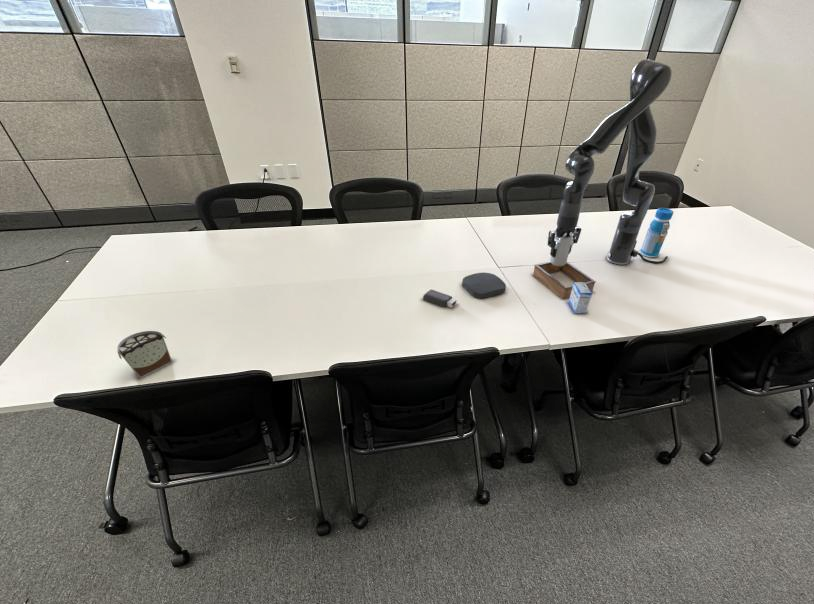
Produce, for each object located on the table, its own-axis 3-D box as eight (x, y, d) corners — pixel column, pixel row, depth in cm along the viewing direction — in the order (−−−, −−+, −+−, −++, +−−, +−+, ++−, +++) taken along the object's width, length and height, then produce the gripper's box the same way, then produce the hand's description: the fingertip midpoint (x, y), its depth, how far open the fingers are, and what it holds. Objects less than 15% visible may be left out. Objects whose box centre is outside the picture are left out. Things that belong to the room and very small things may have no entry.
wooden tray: (561, 269, 179) (563, 258, 175) (592, 292, 165) (595, 281, 162) (532, 275, 174) (534, 264, 171) (562, 299, 160) (565, 288, 157)
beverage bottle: (638, 255, 192) (655, 211, 178) (639, 248, 197) (655, 205, 184) (658, 259, 189) (675, 215, 176) (658, 252, 195) (675, 208, 182)
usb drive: (430, 293, 159) (430, 287, 157) (457, 303, 155) (457, 296, 153) (423, 299, 156) (423, 293, 154) (450, 309, 152) (450, 303, 150)
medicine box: (568, 302, 158) (573, 282, 153) (579, 302, 159) (585, 281, 153) (574, 313, 153) (580, 292, 147) (586, 313, 153) (592, 292, 147)
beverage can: (565, 268, 166) (572, 239, 158) (549, 266, 167) (555, 237, 159) (565, 261, 171) (572, 232, 162) (550, 259, 171) (556, 230, 163)
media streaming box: (476, 300, 157) (477, 293, 155) (458, 283, 166) (458, 276, 164) (509, 292, 162) (510, 285, 160) (489, 276, 172) (490, 269, 170)
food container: (166, 351, 128) (151, 324, 121) (177, 359, 125) (163, 332, 119) (124, 372, 120) (106, 344, 113) (135, 381, 118) (117, 353, 111)
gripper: (559, 219, 150) (550, 262, 161) (591, 213, 155) (580, 256, 166) (547, 212, 155) (539, 254, 166) (578, 207, 160) (568, 248, 171)
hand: (560, 254), depth 166 cm, fingers closed on beverage can, 6 cm apart
